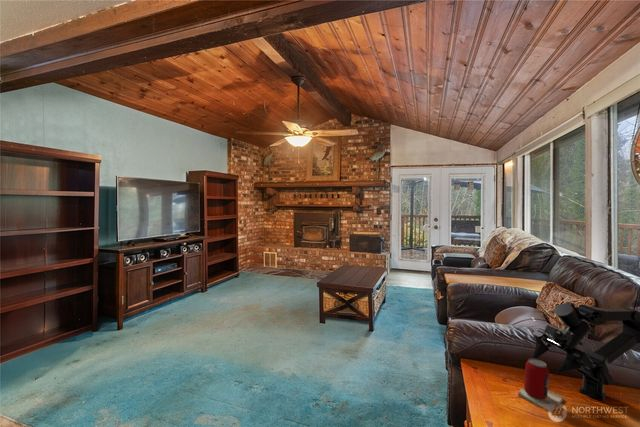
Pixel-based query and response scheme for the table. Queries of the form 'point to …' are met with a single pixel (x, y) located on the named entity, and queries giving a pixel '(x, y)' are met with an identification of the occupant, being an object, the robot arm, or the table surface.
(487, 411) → the table surface
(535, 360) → the beverage can
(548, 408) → the birch board
